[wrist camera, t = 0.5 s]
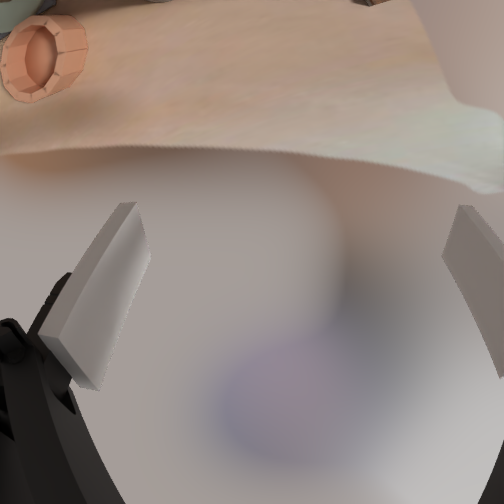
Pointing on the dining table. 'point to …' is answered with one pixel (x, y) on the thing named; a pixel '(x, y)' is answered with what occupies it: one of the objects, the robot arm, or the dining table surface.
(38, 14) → the mat
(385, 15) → the dining table surface
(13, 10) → the lid
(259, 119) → the dining table surface
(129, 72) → the dining table surface
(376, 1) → the white pedestal stand
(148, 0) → the thermos bottle
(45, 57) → the bowl
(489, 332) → the robot arm
